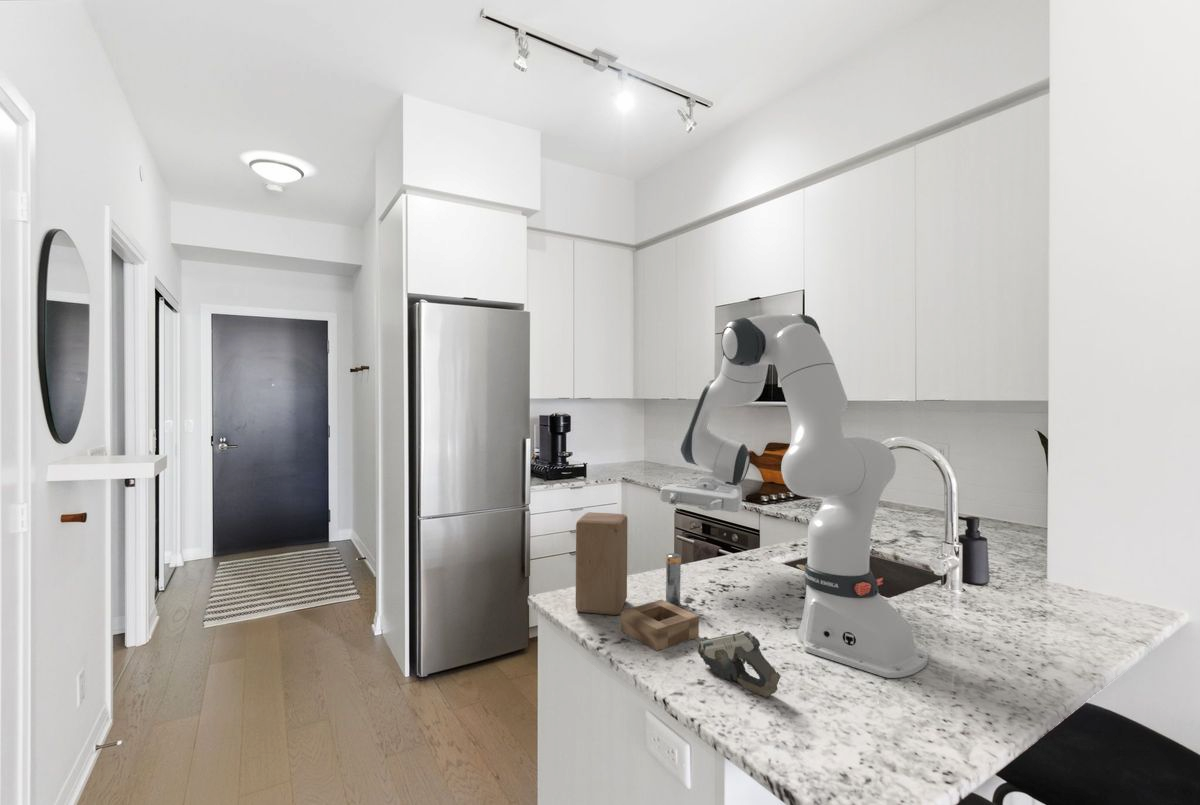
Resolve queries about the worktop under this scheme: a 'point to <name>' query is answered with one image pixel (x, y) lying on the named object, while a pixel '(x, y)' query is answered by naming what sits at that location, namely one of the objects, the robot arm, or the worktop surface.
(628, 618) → the bore block
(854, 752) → the worktop surface
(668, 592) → the grey metal cylinder
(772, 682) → the futuristic pistol
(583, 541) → the wooden block
